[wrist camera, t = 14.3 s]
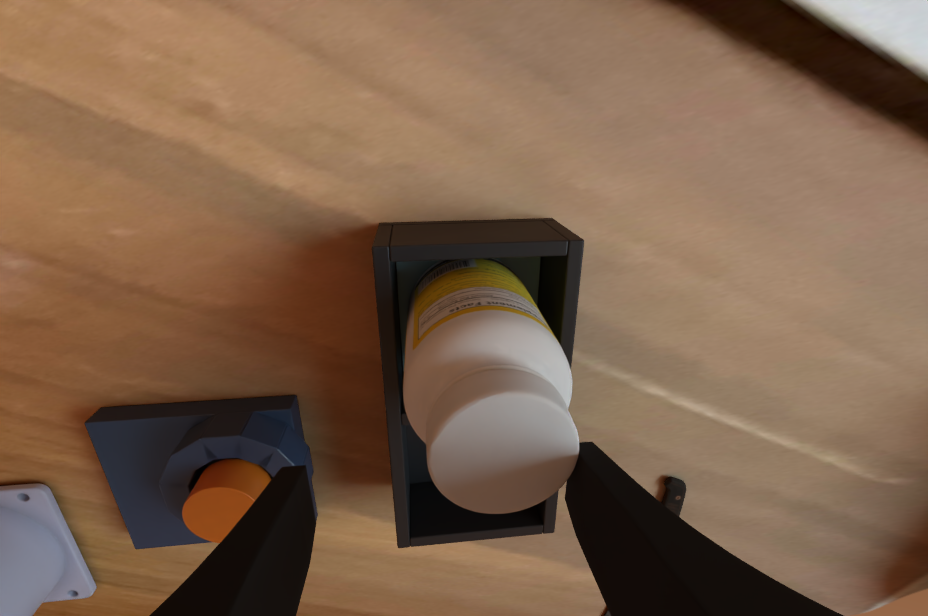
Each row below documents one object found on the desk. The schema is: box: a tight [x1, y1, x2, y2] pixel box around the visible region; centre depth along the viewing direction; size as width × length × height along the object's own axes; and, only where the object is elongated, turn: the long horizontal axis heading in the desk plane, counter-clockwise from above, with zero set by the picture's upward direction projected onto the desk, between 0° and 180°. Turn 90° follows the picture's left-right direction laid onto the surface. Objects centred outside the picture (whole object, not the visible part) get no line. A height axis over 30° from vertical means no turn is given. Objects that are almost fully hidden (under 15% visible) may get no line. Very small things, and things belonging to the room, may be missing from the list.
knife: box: [605, 477, 686, 616], centre depth 30 cm, size 16×1×3 cm
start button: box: [182, 458, 272, 543], centre depth 20 cm, size 3×3×2 cm
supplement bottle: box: [403, 258, 579, 514], centre depth 16 cm, size 5×5×10 cm
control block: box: [85, 395, 318, 549], centre depth 22 cm, size 10×8×3 cm
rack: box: [372, 218, 584, 548], centre depth 21 cm, size 8×15×4 cm, turn 0°
